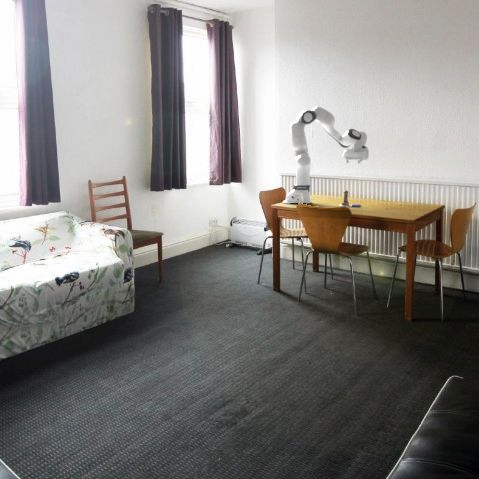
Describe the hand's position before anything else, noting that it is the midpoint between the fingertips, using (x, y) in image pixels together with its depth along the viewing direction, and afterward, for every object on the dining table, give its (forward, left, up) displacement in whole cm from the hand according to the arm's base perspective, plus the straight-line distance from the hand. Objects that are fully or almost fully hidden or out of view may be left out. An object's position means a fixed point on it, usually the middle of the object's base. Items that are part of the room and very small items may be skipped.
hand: (352, 162), depth 441 cm
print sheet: (-3, -13, -31) cm, 34 cm away
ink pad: (+5, -14, -31) cm, 35 cm away
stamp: (-3, -13, -31) cm, 34 cm away
